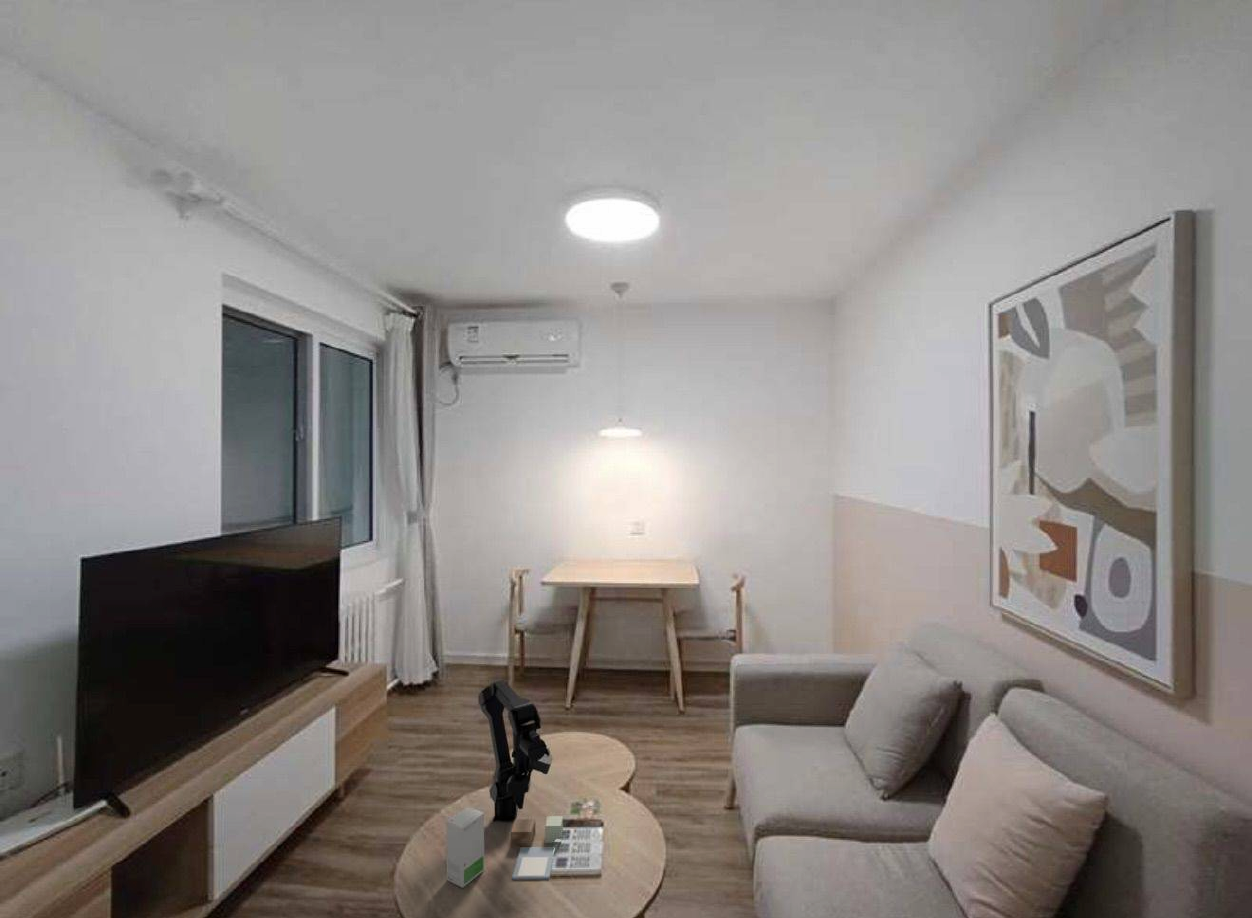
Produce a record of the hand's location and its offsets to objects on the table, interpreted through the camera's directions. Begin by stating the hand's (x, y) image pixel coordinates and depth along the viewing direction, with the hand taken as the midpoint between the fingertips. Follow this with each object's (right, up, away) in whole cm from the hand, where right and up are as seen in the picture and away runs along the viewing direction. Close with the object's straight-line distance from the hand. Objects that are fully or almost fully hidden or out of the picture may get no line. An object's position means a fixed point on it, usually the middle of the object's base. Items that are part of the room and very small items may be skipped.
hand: (523, 799), depth 167 cm
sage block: (+9, -12, +1) cm, 15 cm away
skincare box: (-13, -12, -14) cm, 23 cm away
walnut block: (0, -12, 0) cm, 12 cm away
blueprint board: (+5, -12, -10) cm, 16 cm away
